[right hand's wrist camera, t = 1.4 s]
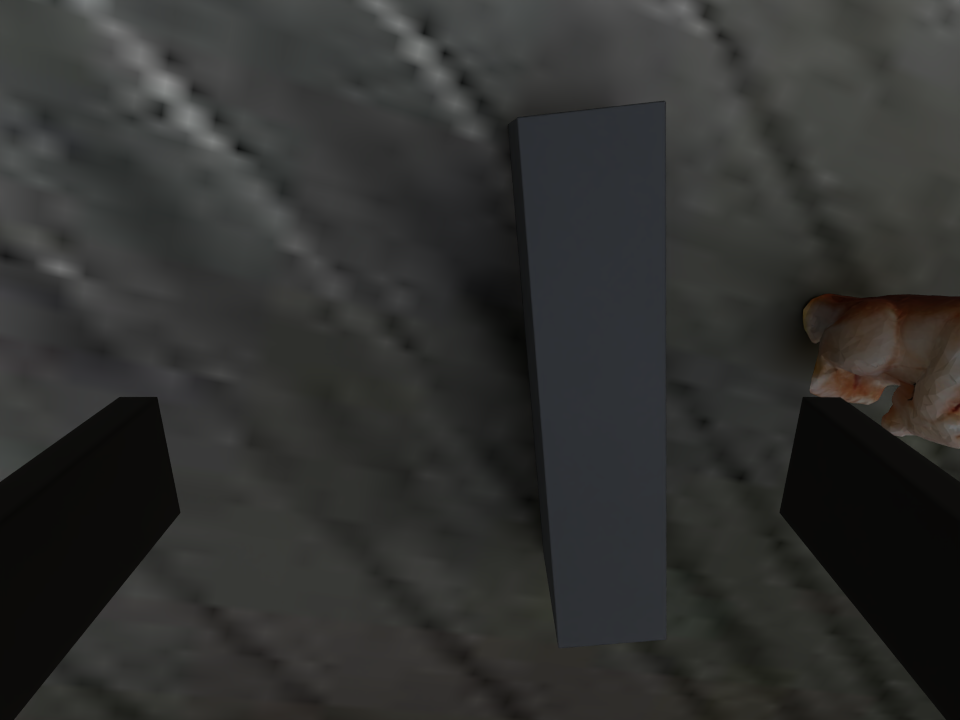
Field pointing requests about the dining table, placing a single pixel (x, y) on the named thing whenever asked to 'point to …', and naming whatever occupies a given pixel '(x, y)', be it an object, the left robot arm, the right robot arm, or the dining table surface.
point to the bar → (597, 361)
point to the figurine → (891, 358)
